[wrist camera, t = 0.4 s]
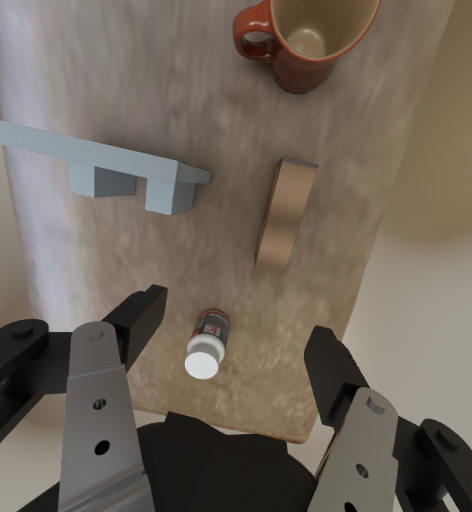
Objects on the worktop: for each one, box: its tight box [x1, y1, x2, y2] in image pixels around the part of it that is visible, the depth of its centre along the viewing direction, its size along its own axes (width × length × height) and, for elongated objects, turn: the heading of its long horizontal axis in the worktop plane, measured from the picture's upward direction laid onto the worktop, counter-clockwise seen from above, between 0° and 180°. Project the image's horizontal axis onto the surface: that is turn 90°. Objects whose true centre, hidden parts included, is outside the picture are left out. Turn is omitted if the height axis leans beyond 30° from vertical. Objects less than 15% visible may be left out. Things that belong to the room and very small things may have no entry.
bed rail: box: [254, 157, 319, 276], centre depth 30 cm, size 14×4×6 cm, turn 168°
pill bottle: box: [185, 310, 230, 379], centre depth 35 cm, size 6×6×10 cm
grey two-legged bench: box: [0, 121, 211, 215], centre depth 26 cm, size 6×16×15 cm, turn 78°
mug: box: [233, 0, 381, 93], centre depth 22 cm, size 12×9×10 cm
